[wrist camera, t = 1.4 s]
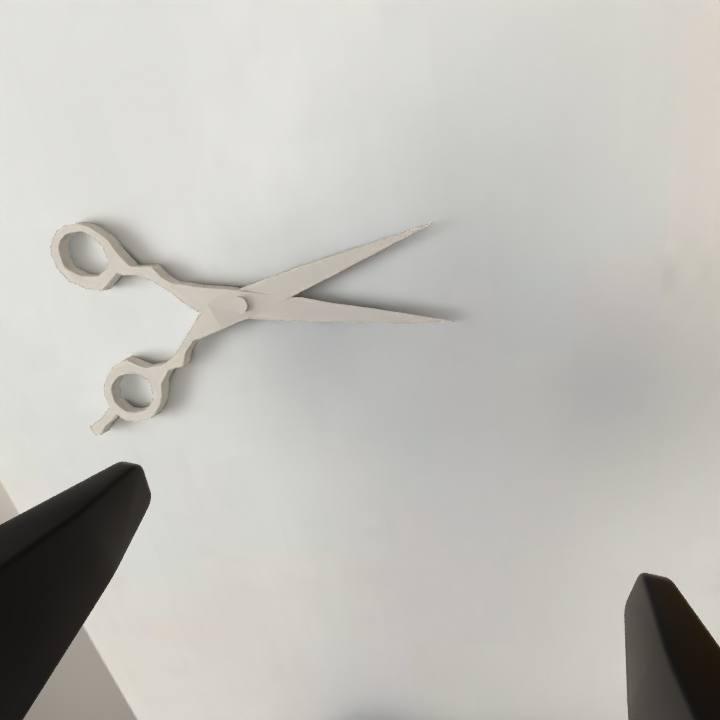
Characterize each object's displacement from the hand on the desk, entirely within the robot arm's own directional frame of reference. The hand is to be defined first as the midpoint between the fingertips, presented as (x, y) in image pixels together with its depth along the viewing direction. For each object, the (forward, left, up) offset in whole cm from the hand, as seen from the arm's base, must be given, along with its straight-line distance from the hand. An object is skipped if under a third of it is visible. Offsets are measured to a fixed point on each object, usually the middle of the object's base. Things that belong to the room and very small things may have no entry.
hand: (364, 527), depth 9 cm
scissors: (+3, +9, -14) cm, 17 cm away
